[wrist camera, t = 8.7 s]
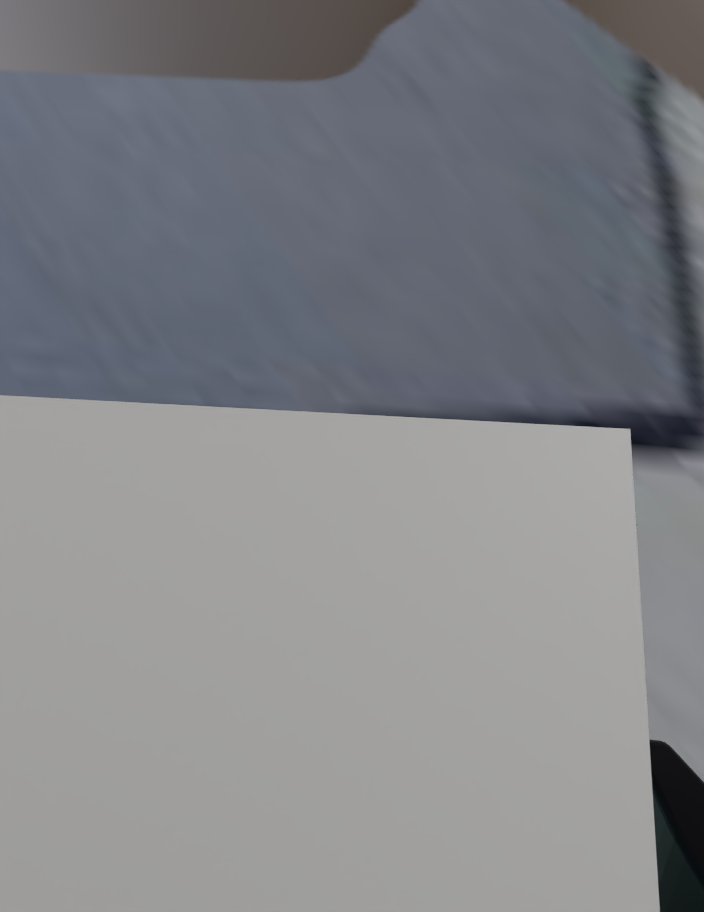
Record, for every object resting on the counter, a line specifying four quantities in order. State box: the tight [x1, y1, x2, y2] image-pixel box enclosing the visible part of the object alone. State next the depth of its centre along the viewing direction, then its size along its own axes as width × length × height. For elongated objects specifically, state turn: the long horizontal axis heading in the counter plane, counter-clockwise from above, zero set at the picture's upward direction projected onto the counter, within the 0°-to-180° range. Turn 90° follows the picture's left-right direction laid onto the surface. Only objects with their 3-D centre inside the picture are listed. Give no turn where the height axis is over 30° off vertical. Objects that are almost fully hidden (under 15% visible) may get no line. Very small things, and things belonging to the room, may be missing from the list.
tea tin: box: [0, 395, 660, 912], centre depth 9 cm, size 6×6×12 cm
